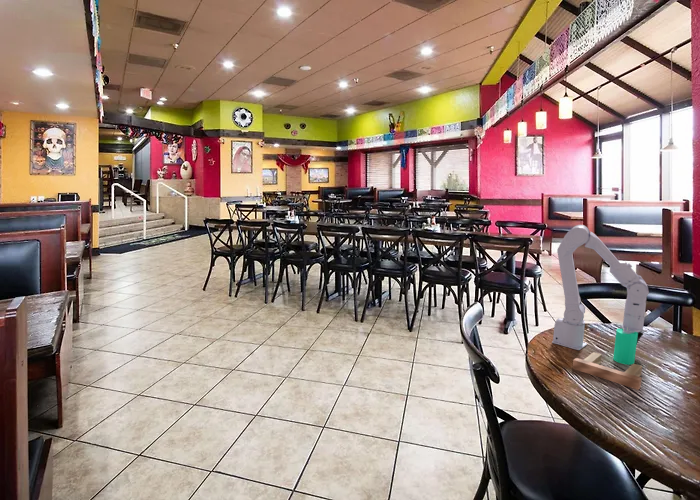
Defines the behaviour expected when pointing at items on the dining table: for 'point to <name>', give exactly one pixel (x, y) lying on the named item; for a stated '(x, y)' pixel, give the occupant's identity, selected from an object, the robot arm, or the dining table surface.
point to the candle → (625, 347)
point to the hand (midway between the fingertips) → (629, 351)
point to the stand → (609, 371)
